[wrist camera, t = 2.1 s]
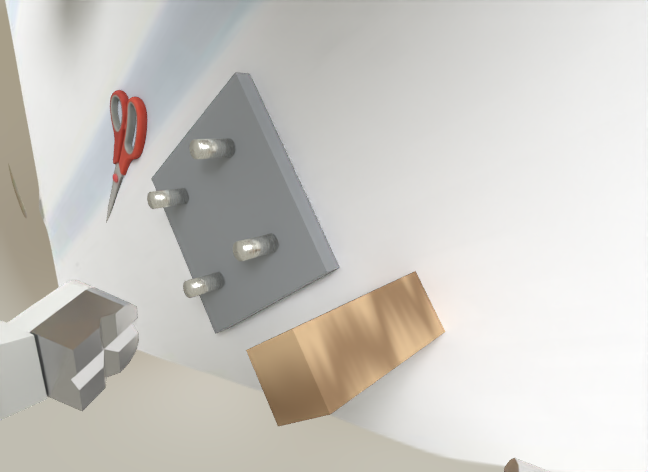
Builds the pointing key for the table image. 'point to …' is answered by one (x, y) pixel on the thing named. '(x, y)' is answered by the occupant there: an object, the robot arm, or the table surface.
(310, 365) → the oak block
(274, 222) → the plate
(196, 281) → the standoff pins
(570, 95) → the table surface
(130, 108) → the scissors
